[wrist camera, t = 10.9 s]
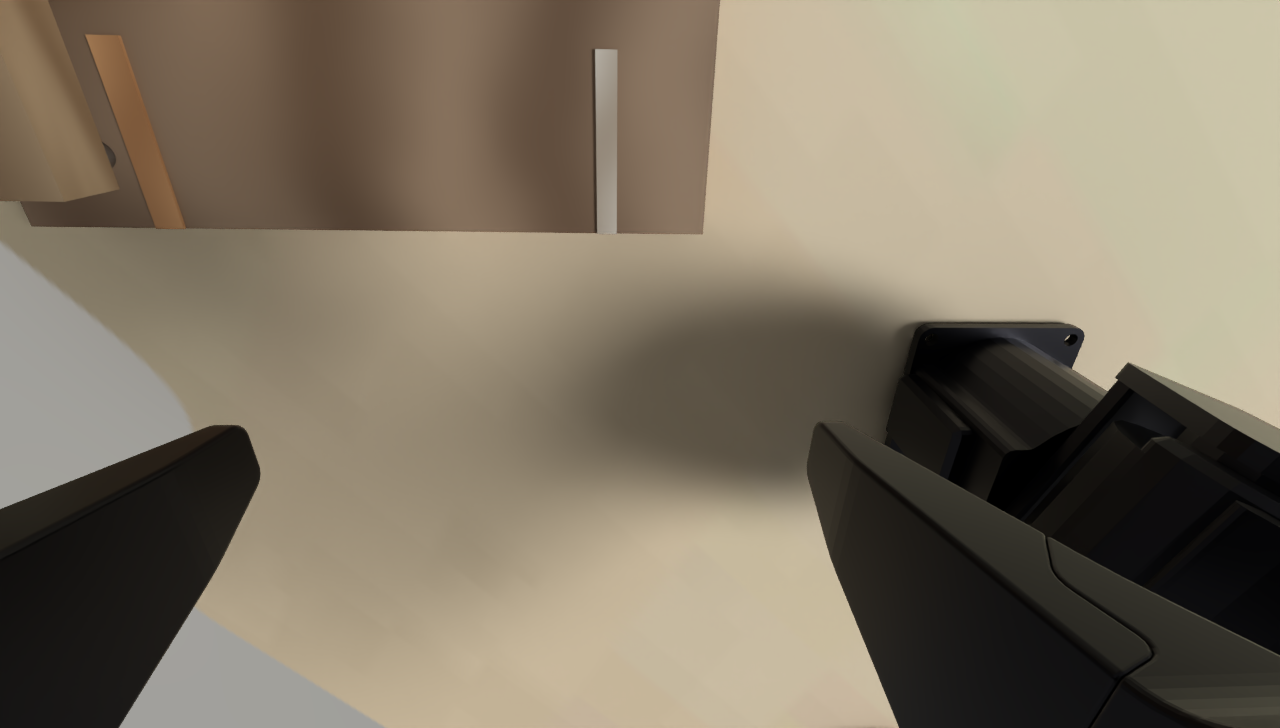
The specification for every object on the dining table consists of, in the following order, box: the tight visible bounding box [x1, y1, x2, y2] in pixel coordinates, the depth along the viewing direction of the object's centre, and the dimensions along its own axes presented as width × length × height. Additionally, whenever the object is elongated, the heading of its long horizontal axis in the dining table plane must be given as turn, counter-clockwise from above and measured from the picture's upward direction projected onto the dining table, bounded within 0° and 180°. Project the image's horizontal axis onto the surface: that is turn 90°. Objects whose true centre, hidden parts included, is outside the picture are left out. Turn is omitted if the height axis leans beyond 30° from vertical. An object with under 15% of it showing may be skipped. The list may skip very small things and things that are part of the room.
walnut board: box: [20, 0, 720, 234], centre depth 15 cm, size 20×12×2 cm, turn 89°
